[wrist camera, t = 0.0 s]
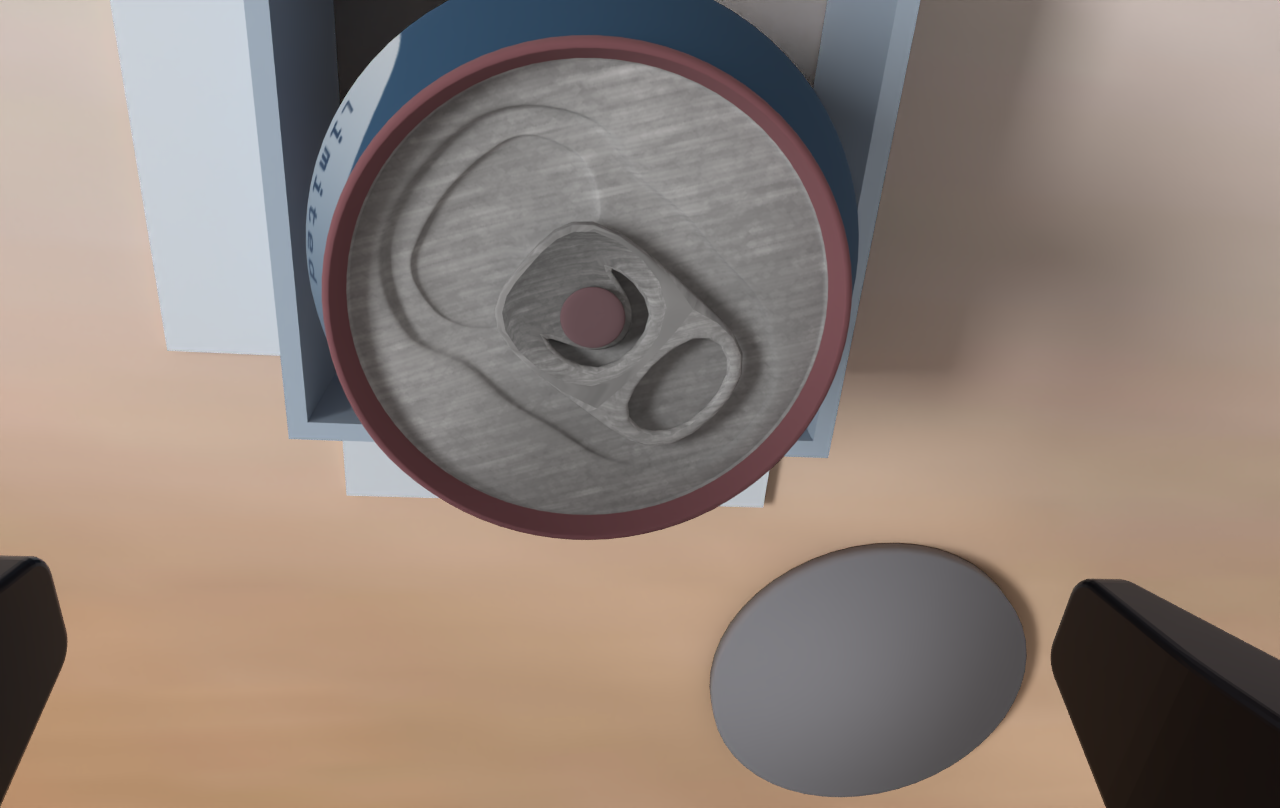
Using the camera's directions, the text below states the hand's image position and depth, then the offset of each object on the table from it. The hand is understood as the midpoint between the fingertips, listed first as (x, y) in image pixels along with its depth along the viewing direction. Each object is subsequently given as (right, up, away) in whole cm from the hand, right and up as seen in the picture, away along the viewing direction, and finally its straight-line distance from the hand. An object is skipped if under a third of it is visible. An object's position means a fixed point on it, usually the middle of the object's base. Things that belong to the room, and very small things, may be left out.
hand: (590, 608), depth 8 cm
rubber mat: (+8, -7, +20) cm, 23 cm away
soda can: (-1, +8, +13) cm, 15 cm away
